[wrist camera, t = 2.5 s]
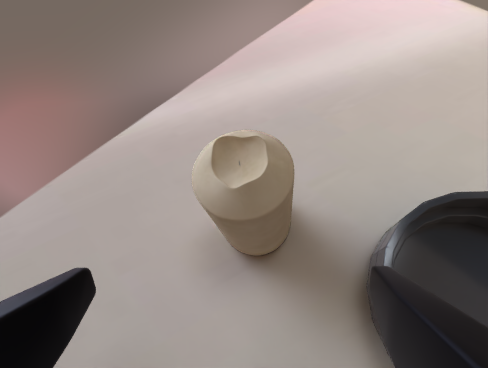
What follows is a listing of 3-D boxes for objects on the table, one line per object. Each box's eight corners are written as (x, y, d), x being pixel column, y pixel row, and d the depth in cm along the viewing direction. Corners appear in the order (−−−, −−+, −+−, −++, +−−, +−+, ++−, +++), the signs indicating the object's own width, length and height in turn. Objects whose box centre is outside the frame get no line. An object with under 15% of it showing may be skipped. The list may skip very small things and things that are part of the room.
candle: (210, 220, 22) (161, 155, 13) (259, 180, 23) (244, 95, 14) (252, 271, 20) (227, 235, 11) (305, 224, 21) (321, 156, 12)
